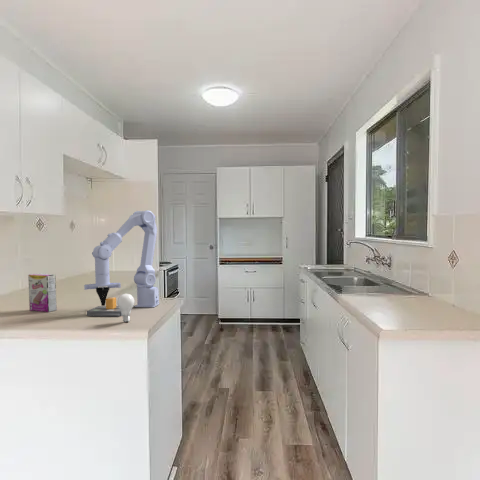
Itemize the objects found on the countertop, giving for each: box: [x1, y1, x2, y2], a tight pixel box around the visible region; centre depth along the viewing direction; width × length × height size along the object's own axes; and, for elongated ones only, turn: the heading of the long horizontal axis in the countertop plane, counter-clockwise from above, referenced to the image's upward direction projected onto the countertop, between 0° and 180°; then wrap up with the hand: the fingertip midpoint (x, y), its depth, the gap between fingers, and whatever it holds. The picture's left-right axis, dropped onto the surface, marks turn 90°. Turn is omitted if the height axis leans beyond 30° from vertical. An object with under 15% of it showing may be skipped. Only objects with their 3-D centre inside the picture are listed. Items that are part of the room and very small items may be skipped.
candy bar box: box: [27, 273, 57, 313], centre depth 174 cm, size 11×5×16 cm, turn 71°
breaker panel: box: [86, 305, 123, 317], centre depth 166 cm, size 15×10×2 cm, turn 83°
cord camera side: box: [90, 313, 121, 318], centre depth 160 cm, size 13×1×1 cm, turn 83°
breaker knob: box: [105, 296, 117, 309], centre depth 166 cm, size 3×4×4 cm
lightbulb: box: [116, 293, 135, 323], centre depth 149 cm, size 6×6×11 cm
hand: (103, 305), depth 166 cm, fingers closed
